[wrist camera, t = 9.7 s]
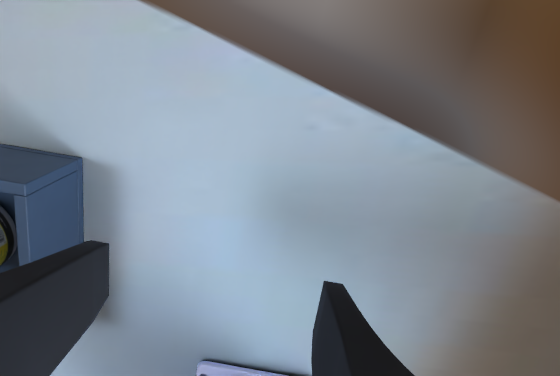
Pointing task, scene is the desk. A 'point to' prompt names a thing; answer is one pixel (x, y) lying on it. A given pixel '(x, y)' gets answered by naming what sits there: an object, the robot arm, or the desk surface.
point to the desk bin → (41, 202)
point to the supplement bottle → (7, 236)
